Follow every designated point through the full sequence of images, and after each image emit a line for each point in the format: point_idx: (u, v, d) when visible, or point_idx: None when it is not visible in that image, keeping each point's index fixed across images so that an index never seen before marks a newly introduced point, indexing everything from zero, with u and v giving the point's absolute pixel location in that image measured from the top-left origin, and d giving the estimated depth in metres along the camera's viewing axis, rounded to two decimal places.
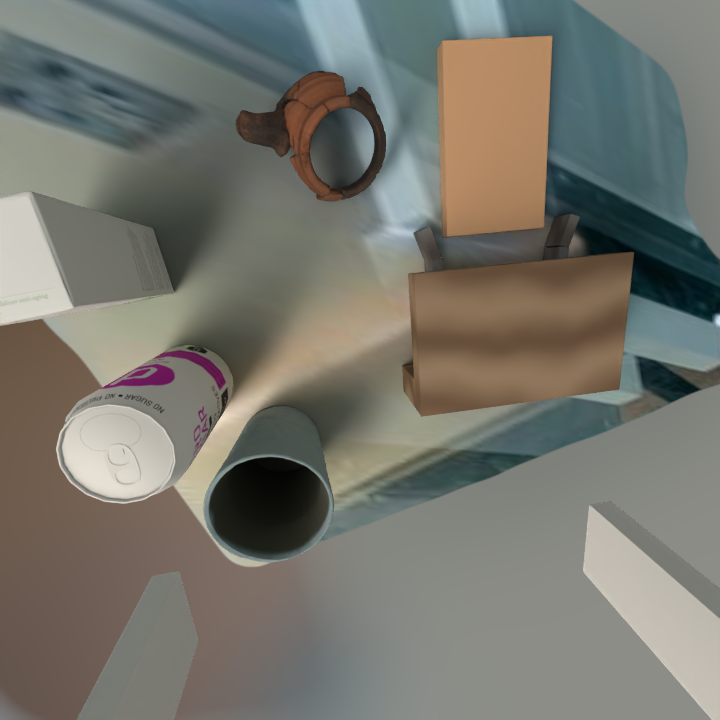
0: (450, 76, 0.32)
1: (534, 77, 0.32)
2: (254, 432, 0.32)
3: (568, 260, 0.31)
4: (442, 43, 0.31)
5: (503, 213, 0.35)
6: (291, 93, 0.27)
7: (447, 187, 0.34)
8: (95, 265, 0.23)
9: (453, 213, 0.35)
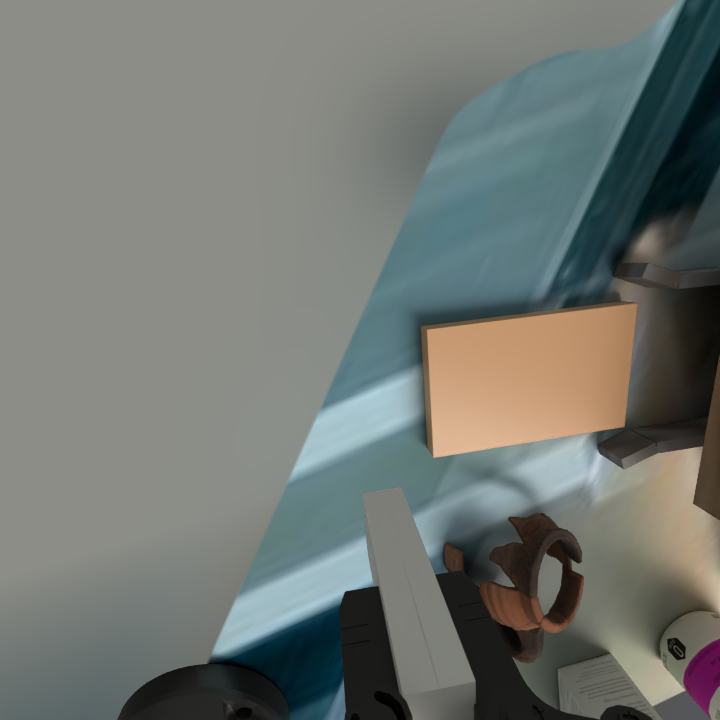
0: (466, 444, 0.27)
1: (470, 345, 0.25)
2: None
3: None
4: (435, 456, 0.27)
5: (612, 361, 0.27)
6: (502, 623, 0.28)
7: (573, 433, 0.29)
8: None
9: (601, 422, 0.29)
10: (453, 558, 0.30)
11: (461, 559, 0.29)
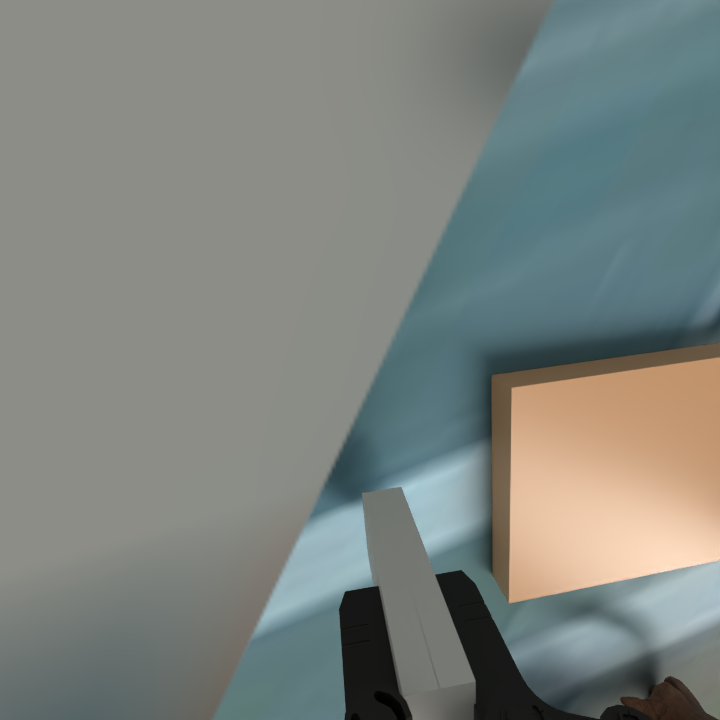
0: (567, 579, 0.16)
1: (589, 415, 0.14)
2: None
3: None
4: (511, 600, 0.16)
5: None
6: None
7: None
8: None
9: None
10: None
11: None
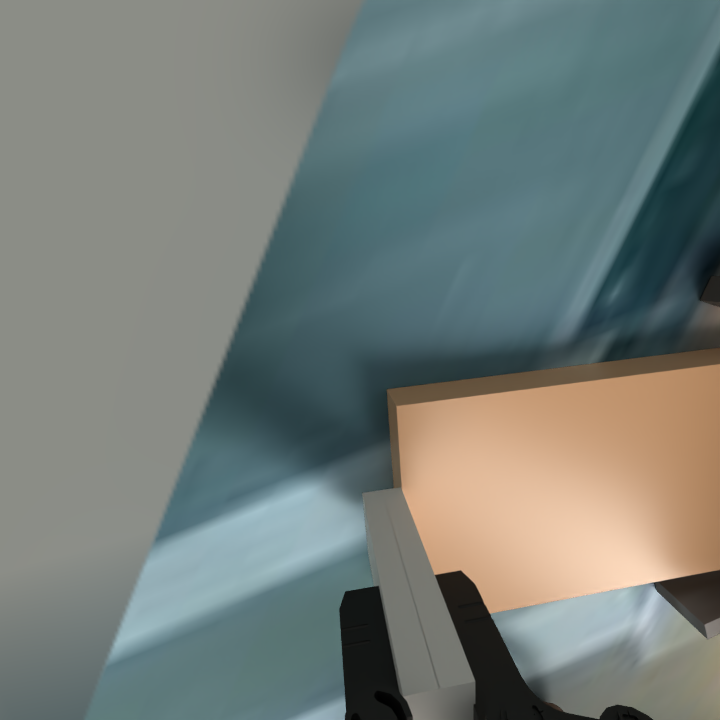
0: None
1: (482, 435, 0.13)
2: None
3: None
4: None
5: None
6: None
7: (663, 576, 0.16)
8: None
9: (713, 558, 0.16)
10: None
11: None
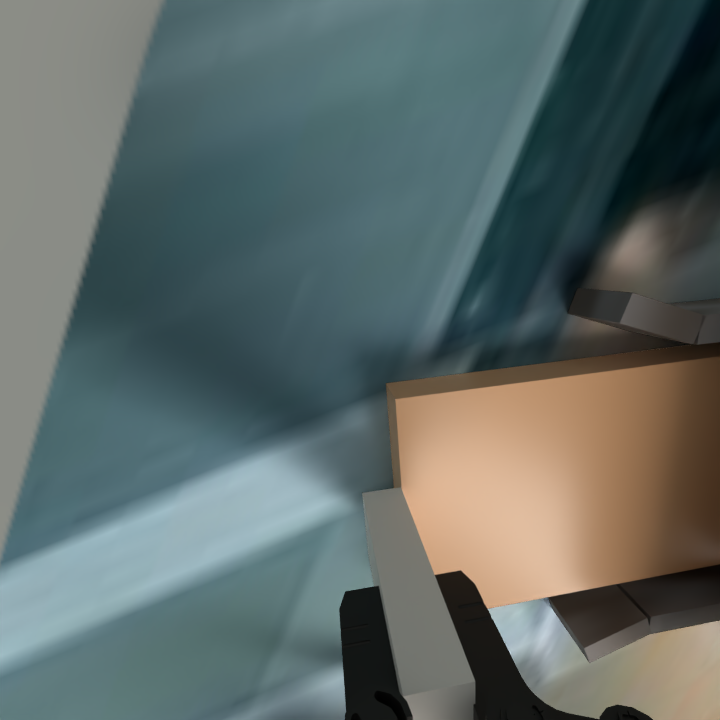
0: None
1: (482, 428, 0.13)
2: None
3: None
4: None
5: None
6: None
7: (664, 571, 0.16)
8: None
9: (714, 552, 0.16)
10: None
11: None
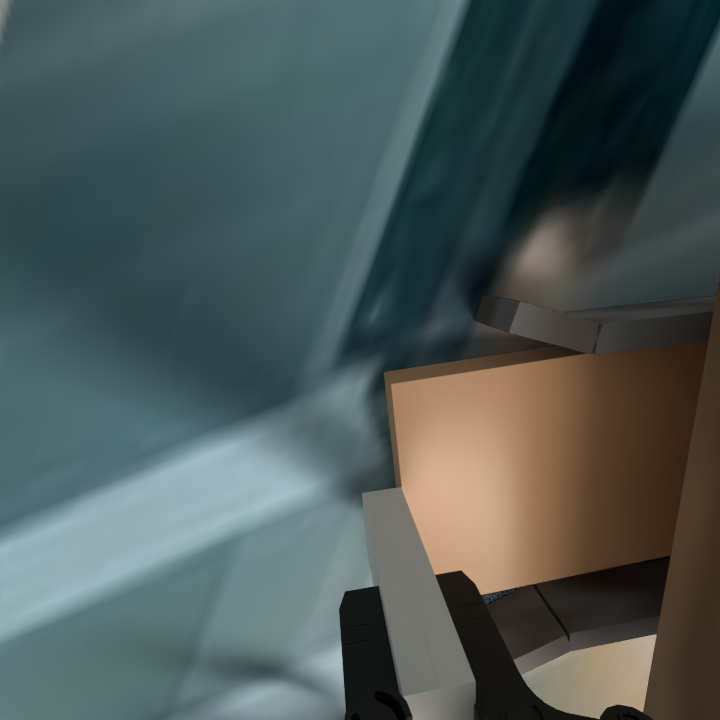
0: (475, 583, 0.15)
1: (479, 411, 0.13)
2: None
3: None
4: None
5: None
6: None
7: (668, 552, 0.16)
8: None
9: None
10: None
11: None
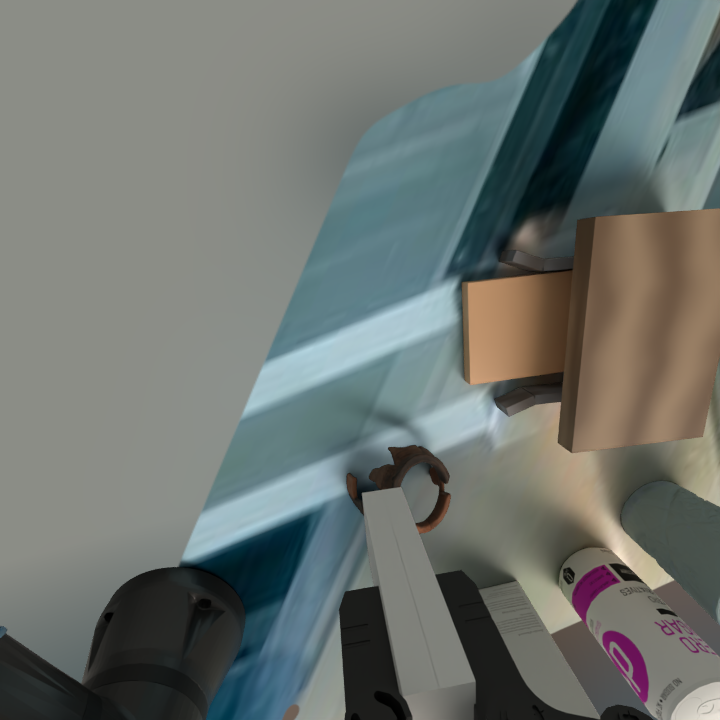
0: (496, 374, 0.36)
1: (500, 296, 0.34)
2: (666, 565, 0.38)
3: (589, 299, 0.29)
4: (471, 384, 0.36)
5: None
6: None
7: None
8: (559, 693, 0.33)
9: None
10: (349, 483, 0.37)
11: (354, 483, 0.36)
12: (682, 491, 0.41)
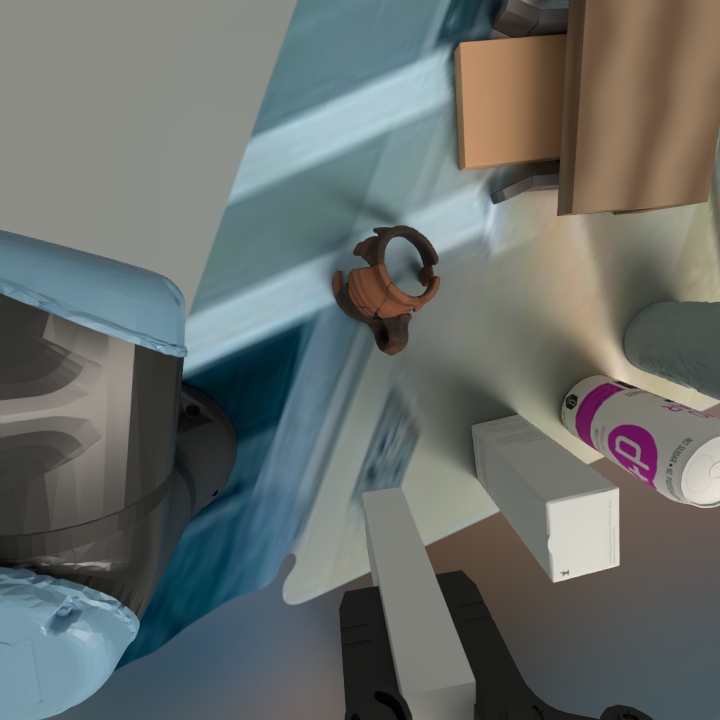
0: (492, 156, 0.34)
1: (494, 60, 0.32)
2: (672, 364, 0.37)
3: (586, 19, 0.27)
4: (466, 167, 0.34)
5: None
6: (369, 312, 0.33)
7: None
8: (564, 470, 0.32)
9: None
10: (335, 278, 0.35)
11: (340, 275, 0.35)
12: None
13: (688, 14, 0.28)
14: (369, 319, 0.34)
